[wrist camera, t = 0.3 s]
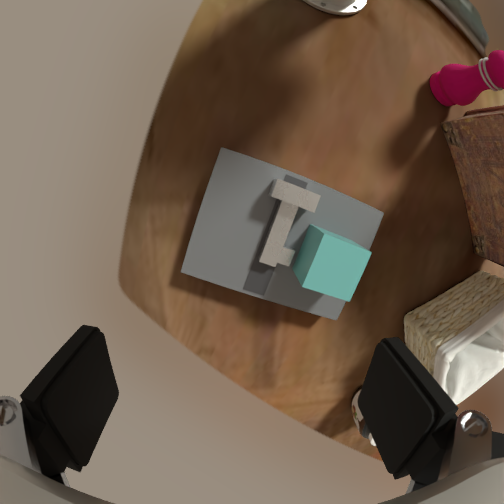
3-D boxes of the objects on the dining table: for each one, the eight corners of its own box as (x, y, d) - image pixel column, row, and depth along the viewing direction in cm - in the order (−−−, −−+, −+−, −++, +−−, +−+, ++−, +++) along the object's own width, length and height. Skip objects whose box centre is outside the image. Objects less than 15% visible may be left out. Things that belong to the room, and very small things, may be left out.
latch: (274, 178, 31) (277, 178, 28) (314, 194, 32) (321, 196, 29) (246, 253, 33) (247, 261, 30) (285, 267, 34) (290, 275, 31)
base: (223, 150, 34) (221, 147, 30) (371, 209, 37) (384, 213, 33) (186, 262, 38) (180, 272, 34) (328, 308, 40) (336, 320, 36)
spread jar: (354, 380, 45) (376, 423, 33) (404, 368, 45) (431, 405, 34) (344, 419, 48) (360, 459, 36) (390, 408, 48) (410, 443, 37)
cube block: (310, 223, 33) (324, 233, 27) (351, 240, 33) (371, 252, 28) (292, 268, 34) (301, 286, 28) (333, 282, 35) (349, 301, 29)
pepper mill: (440, 113, 33) (529, 97, 13) (420, 75, 31) (503, 40, 12) (461, 103, 32) (542, 88, 13) (443, 67, 30) (519, 39, 11)
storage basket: (484, 261, 40) (534, 286, 26) (480, 325, 44) (519, 355, 30) (396, 310, 41) (443, 357, 27) (399, 374, 45) (433, 422, 31)
